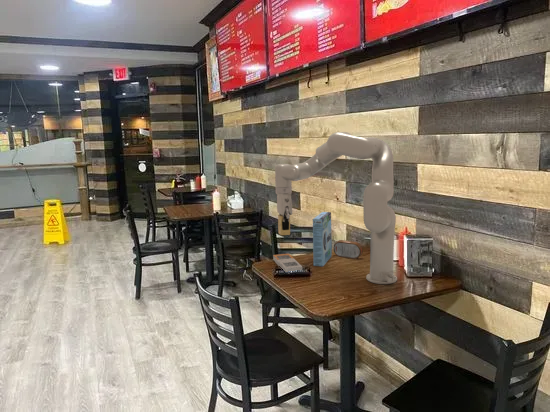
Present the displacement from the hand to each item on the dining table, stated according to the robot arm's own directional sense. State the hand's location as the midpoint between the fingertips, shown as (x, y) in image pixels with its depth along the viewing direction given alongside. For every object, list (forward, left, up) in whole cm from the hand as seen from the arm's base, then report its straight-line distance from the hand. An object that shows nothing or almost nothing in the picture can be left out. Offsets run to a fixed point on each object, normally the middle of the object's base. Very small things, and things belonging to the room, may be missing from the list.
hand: (284, 228), depth 200 cm
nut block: (0, 0, -3) cm, 3 cm away
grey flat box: (-3, 0, -18) cm, 18 cm away
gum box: (0, -19, -18) cm, 26 cm away
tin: (+2, -33, -18) cm, 38 cm away
